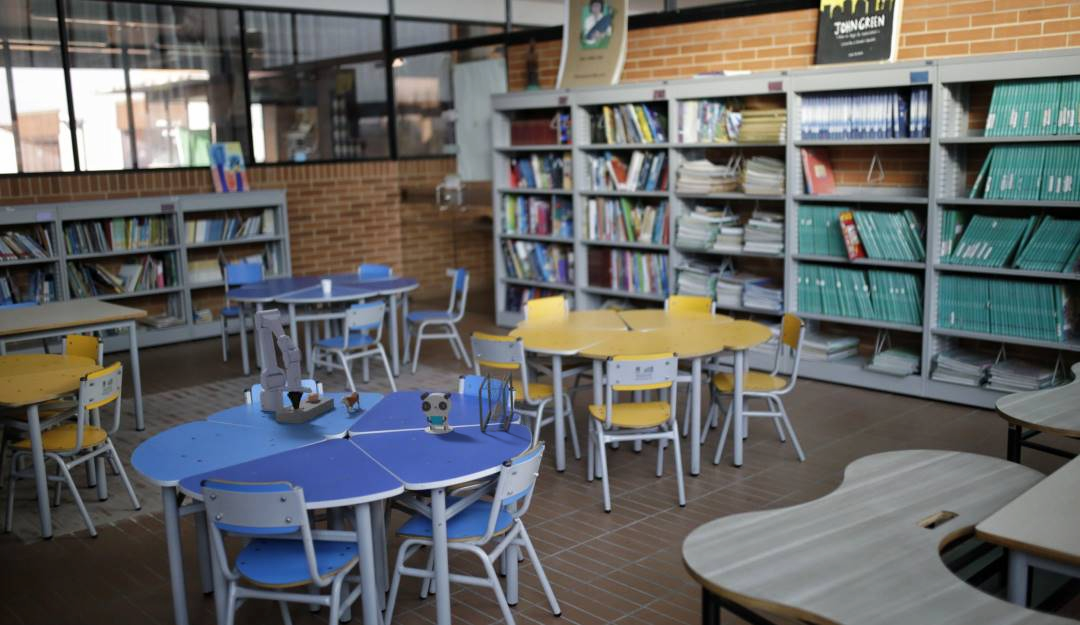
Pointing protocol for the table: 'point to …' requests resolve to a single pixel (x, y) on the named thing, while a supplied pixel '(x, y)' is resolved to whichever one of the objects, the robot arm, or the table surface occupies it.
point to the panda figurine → (437, 412)
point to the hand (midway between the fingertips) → (296, 408)
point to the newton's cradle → (498, 406)
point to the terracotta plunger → (313, 398)
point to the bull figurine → (350, 400)
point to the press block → (304, 411)
